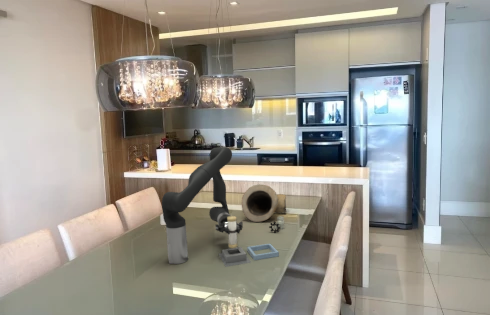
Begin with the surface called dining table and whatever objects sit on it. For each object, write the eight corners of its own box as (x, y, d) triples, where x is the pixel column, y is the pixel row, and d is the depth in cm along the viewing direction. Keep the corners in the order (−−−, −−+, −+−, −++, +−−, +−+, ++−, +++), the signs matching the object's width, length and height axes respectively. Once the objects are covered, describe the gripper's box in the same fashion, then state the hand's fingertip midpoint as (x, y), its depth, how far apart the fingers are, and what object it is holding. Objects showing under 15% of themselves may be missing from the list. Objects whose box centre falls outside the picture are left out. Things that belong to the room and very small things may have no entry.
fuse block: (225, 269, 164) (225, 260, 164) (218, 256, 180) (218, 247, 179) (251, 265, 167) (251, 256, 167) (242, 252, 183) (241, 244, 182)
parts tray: (254, 263, 170) (254, 255, 169) (247, 253, 181) (247, 246, 181) (279, 259, 173) (278, 252, 172) (270, 250, 184) (270, 243, 184)
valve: (277, 226, 221) (269, 232, 210) (276, 215, 220) (268, 221, 210) (287, 227, 218) (280, 234, 207) (287, 216, 217) (279, 222, 207)
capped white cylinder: (229, 248, 170) (228, 218, 168) (227, 245, 174) (226, 216, 172) (238, 247, 171) (237, 217, 169) (236, 244, 175) (235, 215, 173)
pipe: (286, 222, 255) (289, 220, 226) (244, 224, 257) (241, 222, 227) (284, 189, 260) (287, 182, 231) (243, 190, 262) (240, 184, 232)
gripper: (211, 215, 183) (218, 225, 166) (239, 212, 186) (248, 221, 170) (212, 230, 184) (218, 241, 167) (239, 227, 187) (249, 237, 171)
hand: (233, 231), depth 169 cm, fingers closed on capped white cylinder, 4 cm apart
